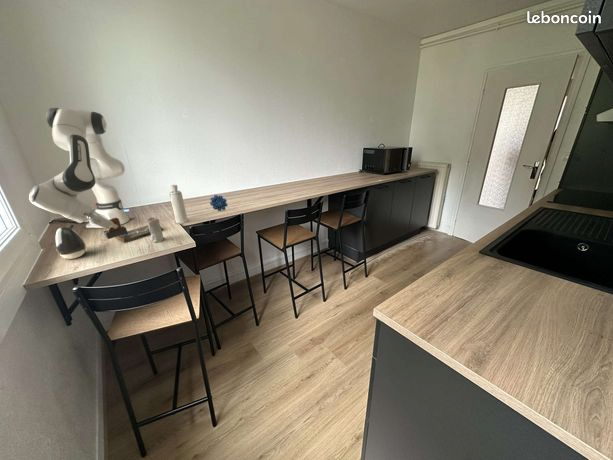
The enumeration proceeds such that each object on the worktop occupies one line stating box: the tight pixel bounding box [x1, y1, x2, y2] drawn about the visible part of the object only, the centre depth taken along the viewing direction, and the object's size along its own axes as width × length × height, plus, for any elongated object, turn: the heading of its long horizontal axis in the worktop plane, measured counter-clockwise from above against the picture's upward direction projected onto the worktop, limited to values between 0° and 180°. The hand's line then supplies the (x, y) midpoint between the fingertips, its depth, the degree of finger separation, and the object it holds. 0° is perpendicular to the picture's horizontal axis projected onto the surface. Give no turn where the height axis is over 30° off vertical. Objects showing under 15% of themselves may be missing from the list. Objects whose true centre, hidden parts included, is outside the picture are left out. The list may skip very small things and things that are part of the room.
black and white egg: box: [54, 224, 87, 260], centre depth 117 cm, size 10×10×15 cm
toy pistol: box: [116, 224, 164, 243], centre depth 143 cm, size 20×12×2 cm, turn 143°
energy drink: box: [146, 217, 165, 243], centre depth 132 cm, size 5×5×12 cm
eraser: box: [102, 218, 128, 240], centre depth 118 cm, size 8×4×8 cm, turn 143°
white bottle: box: [169, 184, 189, 224], centre depth 155 cm, size 7×7×25 cm
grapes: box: [209, 194, 228, 212], centre depth 174 cm, size 12×7×12 cm, turn 122°
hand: (115, 225), depth 118 cm, fingers closed on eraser, 3 cm apart
